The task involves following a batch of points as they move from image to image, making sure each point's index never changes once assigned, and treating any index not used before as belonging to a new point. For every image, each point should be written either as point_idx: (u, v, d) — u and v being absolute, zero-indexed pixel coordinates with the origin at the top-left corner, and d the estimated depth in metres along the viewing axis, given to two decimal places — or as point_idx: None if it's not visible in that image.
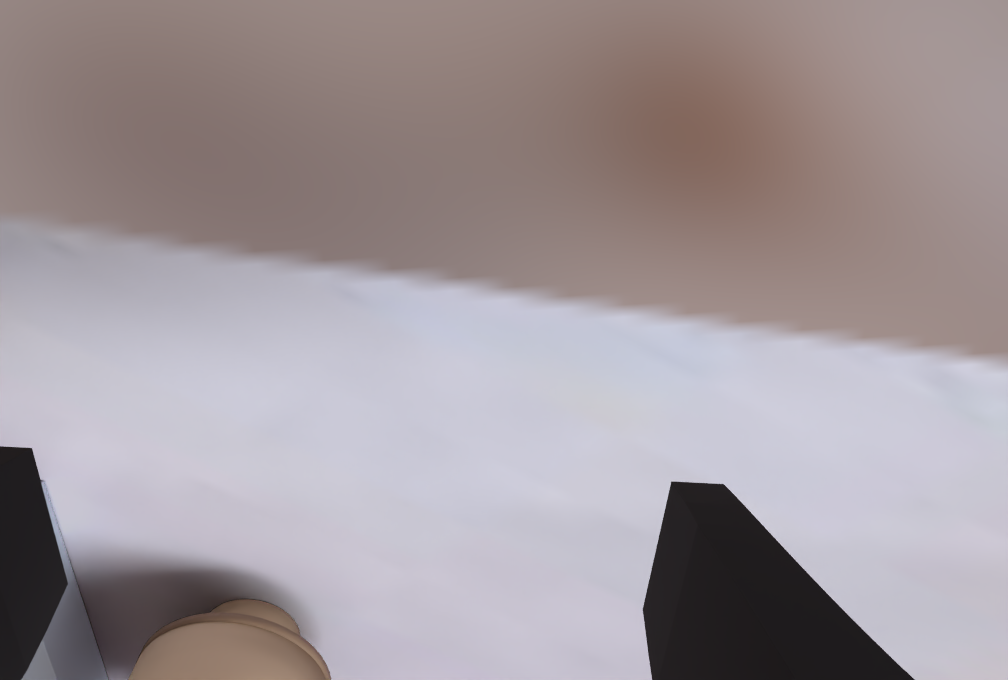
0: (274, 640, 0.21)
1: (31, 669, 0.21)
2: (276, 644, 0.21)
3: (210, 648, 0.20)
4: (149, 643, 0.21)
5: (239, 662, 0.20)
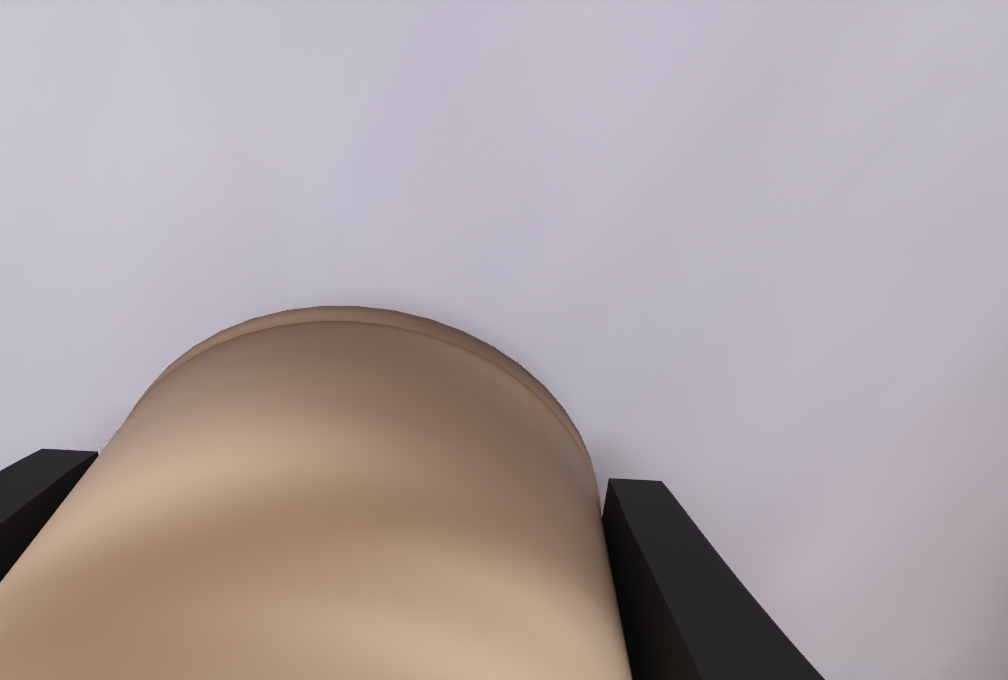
0: None
1: None
2: (121, 427, 0.07)
3: None
4: None
5: None
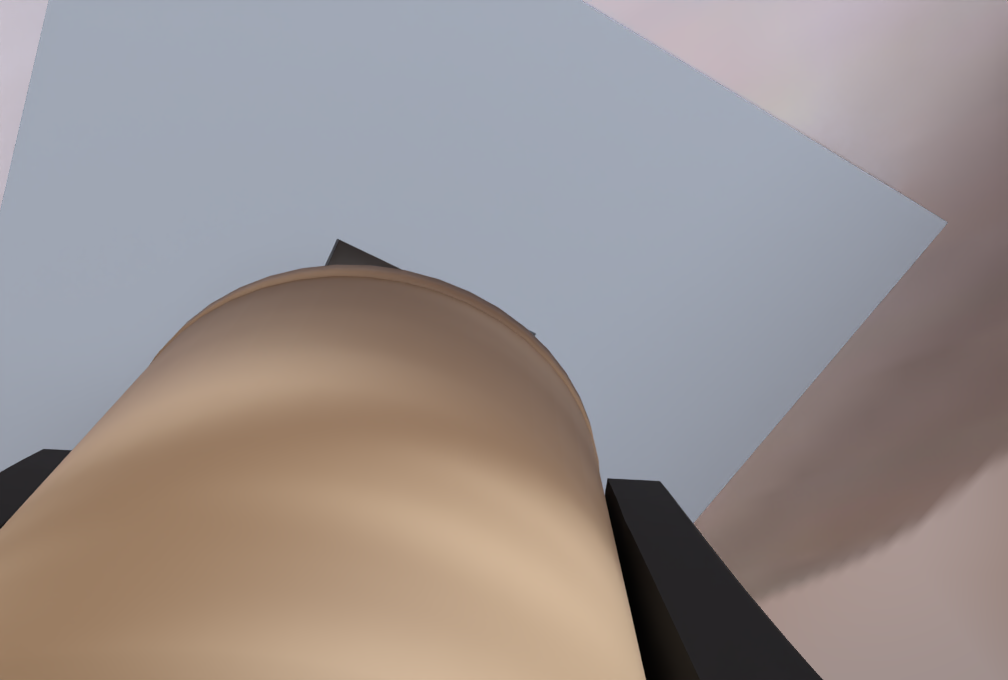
0: None
1: None
2: None
3: None
4: None
5: None
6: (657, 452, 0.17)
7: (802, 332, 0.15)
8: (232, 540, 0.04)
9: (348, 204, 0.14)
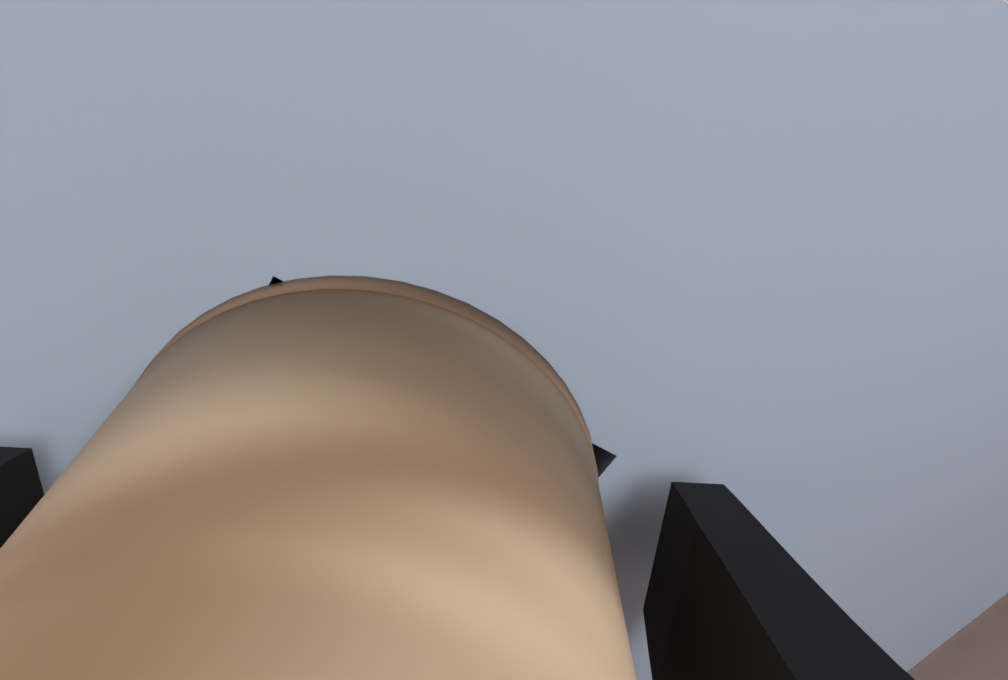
0: None
1: None
2: None
3: None
4: None
5: None
6: None
7: None
8: (218, 606, 0.04)
9: (296, 215, 0.07)
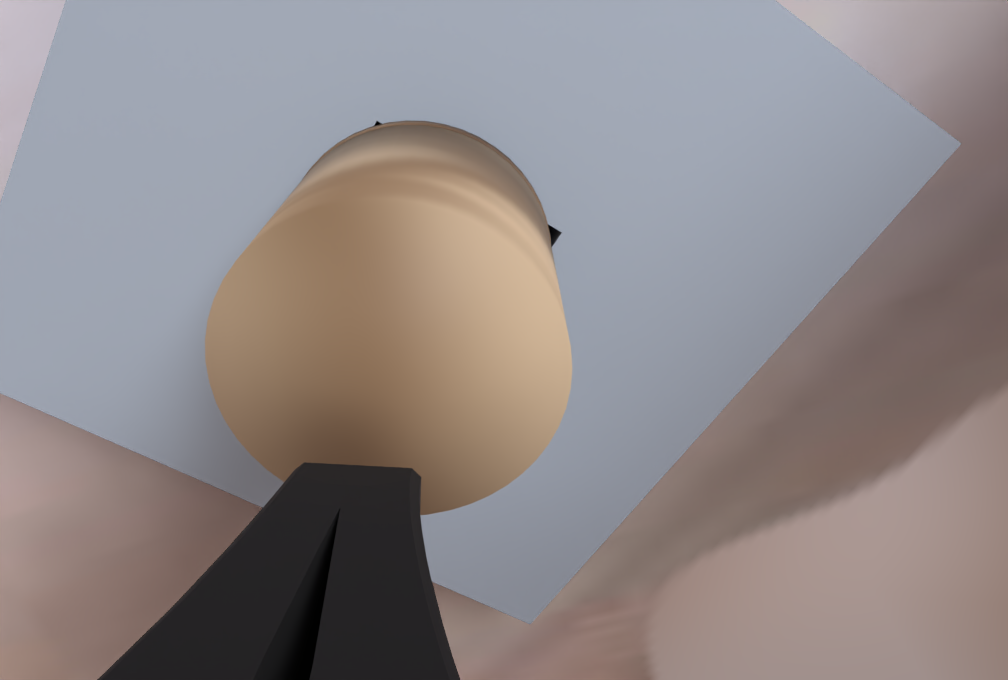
0: None
1: None
2: None
3: None
4: None
5: None
6: (668, 363, 0.17)
7: (816, 247, 0.16)
8: (393, 184, 0.11)
9: (390, 86, 0.14)
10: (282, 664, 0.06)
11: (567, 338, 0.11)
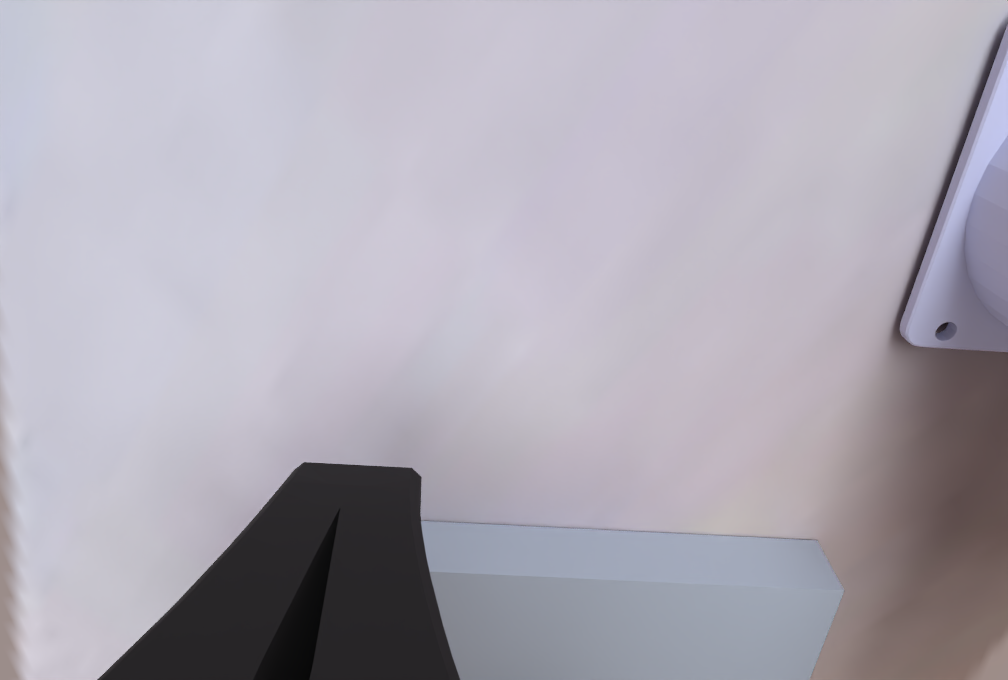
0: None
1: (457, 589, 0.21)
2: None
3: None
4: None
5: None
6: None
7: (782, 667, 0.22)
8: None
9: None
10: (283, 664, 0.06)
11: None
